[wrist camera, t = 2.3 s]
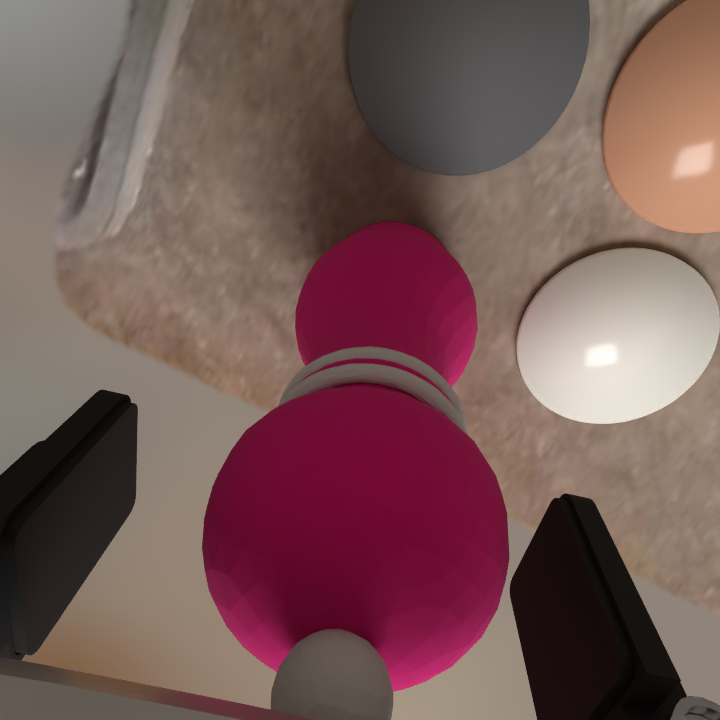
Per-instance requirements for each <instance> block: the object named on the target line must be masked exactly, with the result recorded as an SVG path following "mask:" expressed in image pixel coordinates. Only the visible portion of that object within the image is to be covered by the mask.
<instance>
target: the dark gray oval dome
mask: <svg viewBox="0 0 720 720" xmlns="http://www.w3.org/2000/svg"><path fill="white" fill-rule="evenodd" d="M589 28H590V17H589V2H588V0H356V3H355V6H354V10H353V15H352V20H351V24H350V32H349V43H348V57H349V69H350V77H351V82H352V86H353V90H354V94H355V97H356V100H357V103H358V105H359V108H360V110H361V112H362V114H363V116H364V118H365V120H366V122H367V124H368V125H369V127H370V128H371V130H372V131H373V132H374V134H375V135H376V137H377V138H378V139H379V140H380V141H381V142H382V143H383V144H384V145H385V147H387V148H388V149H389V150H390V151H391V152H392V153H394V154H395V155H396V156H397V157H399V158H400V159H402V160H404V161H405V162H407V163H408V164H410V165H413V166H415V167H417V168H419V169H422V170H425V171H428V172H432V173H436V174H442V175H461V176H462V175H471V174H477V173H481V172H485V171H489V170H492V169H495V168H497V167H500V166H502V165H505V164H506V163H508V162H510V161H512V160H514V159H516V158H517V157H519V156H520V155H522V154H523V153H525V152H526V151H527V150H529V149H530V148H531V147H533V146H534V145H535V144H536V143H537V142H538V141H539V140H540V139H541V138H542V137H544V135H545V134H546V133H547V132H548V131H549V130H550V129H551V127H552V126H553V125H554V124H555V123H556V121H557V120H558V118H559V117H560V115H561V114H562V113H563V111H564V110H565V108H566V106H567V104H568V103H569V101H570V99H571V97H572V95H573V93H574V91H575V89H576V86H577V84H578V81H579V79H580V76H581V73H582V69H583V66H584V63H585V59H586V53H587V48H588V42H589Z"/></svg>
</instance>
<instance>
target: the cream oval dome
mask: <svg viewBox="0 0 720 720" xmlns="http://www.w3.org/2000/svg"><path fill="white" fill-rule="evenodd" d="M719 328H720V317H719V308H718V305H717V301H716V298H715V296H714V294H713V292H712V290H711V288H710V286H709V285H708V283H707V282H706V281H705V279H704V278H703V277H702V276H701V275H700V274H699V273H698V272H697V271H696V270H695V269H693V268H692V267H691V266H689V265H688V264H686V263H685V262H683V261H681V260H679V259H677V258H675V257H673V256H671V255H669V254H666V253H663V252H660V251H657V250H652V249H646V248H618V249H611V250H606V251H602V252H598V253H595V254H592V255H589V256H587V257H584V258H582V259H580V260H578V261H576V262H574V263H572V264H570V265H569V266H567V267H565V268H564V269H562V270H561V271H560V272H558V273H557V274H556V275H554V276H553V277H552V278H551V279H550V280H549V281H548V282H547V283H545V284H544V285H543V286H542V287H541V289H540V290H539V291H538V292H537V294H536V295H535V296H534V297H533V299H532V300H531V302H530V304H529V305H528V307H527V309H526V311H525V313H524V315H523V317H522V319H521V323H520V326H519V329H518V334H517V340H516V353H517V361H518V365H519V368H520V372H521V374H522V377H523V379H524V381H525V383H526V385H527V387H528V388H529V390H530V391H531V393H532V394H533V395H534V396H535V397H536V398H537V399H538V400H539V401H540V402H541V403H542V404H543V405H545V406H546V407H547V408H549V409H550V410H552V411H554V412H555V413H557V414H559V415H561V416H564V417H566V418H569V419H572V420H576V421H580V422H586V423H596V424H608V423H618V422H625V421H629V420H633V419H637V418H640V417H643V416H646V415H649V414H651V413H653V412H655V411H657V410H659V409H661V408H663V407H665V406H666V405H668V404H670V403H672V402H673V401H674V400H676V399H677V398H678V397H680V396H681V395H682V394H683V393H684V392H686V391H687V390H688V389H689V388H690V387H691V386H692V385H693V384H694V383H695V382H696V380H697V379H698V378H699V377H700V376H701V374H702V373H703V371H704V370H705V368H706V367H707V365H708V363H709V361H710V360H711V358H712V356H713V353H714V350H715V348H716V345H717V341H718V336H719Z"/></svg>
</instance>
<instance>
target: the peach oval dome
mask: <svg viewBox="0 0 720 720" xmlns="http://www.w3.org/2000/svg"><path fill="white" fill-rule="evenodd" d="M602 152H603V158H604V163H605V168H606V171H607V174H608V177H609V180H610V182H611V184H612V185H613V187H614V189H615V191H616V193H617V194H618V195H619V197H620V198H621V199H622V201H623V202H624V203H625V204H626V205H627V206H628V207H629V208H630V209H631V210H632V211H633V212H635V213H636V214H638V215H639V216H640V217H642V218H643V219H645V220H647V221H649V222H651V223H654V224H656V225H658V226H660V227H663V228H666V229H669V230H673V231H679V232H685V233H708V232H717V231H720V0H686V1H684V2H683V3H681V4H680V5H678V6H677V7H676V8H674V9H673V10H672V11H670V12H669V13H668V14H667V15H665V16H664V17H663V18H662V19H661V20H660V21H659V22H658V23H657V24H655V25H654V26H653V27H652V28H651V30H650V31H649V32H648V33H647V34H646V35H645V36H644V37H643V38H642V39H641V41H640V42H639V43H638V45H637V46H636V47H635V49H634V50H633V51H632V53H631V54H630V56H629V57H628V59H627V60H626V62H625V64H624V66H623V67H622V69H621V71H620V72H619V75H618V77H617V79H616V81H615V83H614V86H613V88H612V90H611V93H610V96H609V99H608V102H607V106H606V110H605V115H604V120H603V129H602Z"/></svg>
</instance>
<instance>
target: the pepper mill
mask: <svg viewBox="0 0 720 720" xmlns="http://www.w3.org/2000/svg"><path fill="white" fill-rule="evenodd" d="M295 328H296V338H297V343H298V349H299V352H300V355H301V357H302V360H303V362H304V364H305V366H306V367H304V368H303V369H302V370H301V371H300V372H299V373H298V374H297V375H296V376H295V377H294V378H293V379H292V380H291V382H290V383H289V385H288V386H287V388H286V389H285V391H284V393H283V395H282V398H281V400H280V403H279V405H278V407H277V408H275V409H273V410H272V411H270V412H269V413H268V414H267V415H265V416H264V417H263V418H262V419H260V420H259V421H258V422H256V423H255V424H254V425H252V426H251V427H250V428H249V429H247V430H246V431H245V432H244V434H243V435H242V437H241V438H240V439H239V441H238V442H237V443H236V445H235V446H234V447H233V449H232V450H231V452H230V454H229V456H228V457H227V459H226V461H225V463H224V465H223V466H222V468H221V470H220V472H219V474H218V476H217V478H216V480H215V483H214V485H213V487H212V491H211V495H210V498H209V502H208V505H207V509H206V514H205V519H204V530H203V542H202V551H203V558H204V568H205V573H206V578H207V583H208V588H209V591H210V593H211V595H212V598H213V600H214V602H215V604H216V606H217V608H218V610H219V612H220V614H221V616H222V618H223V620H224V622H225V624H226V626H227V627H228V628H229V630H230V631H231V632H232V634H233V635H234V636H235V637H236V638H237V640H238V641H239V642H240V643H241V645H242V646H243V647H244V648H245V649H247V650H248V651H249V652H250V653H251V654H252V655H254V656H255V657H256V658H257V659H259V660H260V661H261V662H263V663H264V664H265V665H267V666H268V667H270V668H272V669H273V670H275V671H276V672H277V674H276V678H275V681H274V685H273V687H272V693H271V710H274V711H279V712H284V713H289V714H293V715H298V716H303V717H308V718H313V719H318V720H391V716H392V709H393V691H398V690H403V689H406V688H409V687H412V686H414V685H417V684H420V683H423V682H425V681H427V680H429V679H431V678H432V677H434V676H436V675H438V674H440V673H441V672H443V671H445V670H447V669H448V668H450V667H452V666H453V665H454V664H455V663H456V662H457V661H458V660H459V659H460V658H461V657H462V656H463V655H464V654H465V653H466V652H467V651H468V650H469V649H470V648H471V647H472V646H473V645H474V644H475V643H476V642H477V641H478V640H479V639H480V638H481V637H482V635H483V634H484V632H485V630H486V628H487V627H488V624H489V623H490V621H491V620H492V618H493V616H494V614H495V613H496V611H497V609H498V605H499V602H500V598H501V595H502V591H503V587H504V584H505V580H506V575H507V569H508V563H509V543H508V523H507V512H506V508H505V504H504V500H503V497H502V493H501V490H500V487H499V484H498V481H497V478H496V475H495V474H494V472H493V470H492V469H491V467H490V466H489V464H488V463H487V461H486V459H485V458H484V456H483V455H482V453H481V451H480V450H479V448H478V447H477V445H476V444H475V442H474V441H473V440H472V439H471V438H470V437H469V436H468V435H467V429H466V421H465V416H464V412H463V409H462V406H461V404H460V401H459V399H458V397H457V395H456V393H455V392H454V391H453V389H452V388H451V387H452V386H453V385H454V384H455V383H456V381H457V380H458V379H459V377H460V376H461V374H462V373H463V371H464V369H465V367H466V365H467V363H468V361H469V359H470V356H471V354H472V351H473V349H474V345H475V339H476V334H477V313H476V301H475V296H474V292H473V288H472V286H471V284H470V282H469V279H468V277H467V275H466V274H465V272H464V271H463V269H462V268H461V266H460V265H459V263H458V262H457V261H456V260H455V259H454V258H453V257H452V256H451V255H450V254H449V253H448V252H447V251H446V249H445V248H444V247H443V246H442V244H441V243H440V242H439V241H438V240H437V239H436V238H435V237H433V236H432V235H431V234H429V233H428V232H426V231H424V230H423V229H421V228H418V227H416V226H414V225H410V224H406V223H401V222H381V223H376V224H372V225H369V226H366V227H364V228H362V229H360V230H358V231H356V232H355V233H353V234H352V235H351V236H349V237H348V238H346V239H344V240H342V241H341V242H339V243H337V244H336V245H334V246H333V247H332V248H330V249H329V250H328V251H326V252H325V253H324V254H323V255H322V257H321V258H320V259H319V260H318V261H317V262H316V263H315V265H314V266H313V268H312V269H311V271H310V272H309V274H308V276H307V278H306V280H305V283H304V285H303V287H302V290H301V293H300V296H299V300H298V303H297V307H296V321H295Z"/></svg>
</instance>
